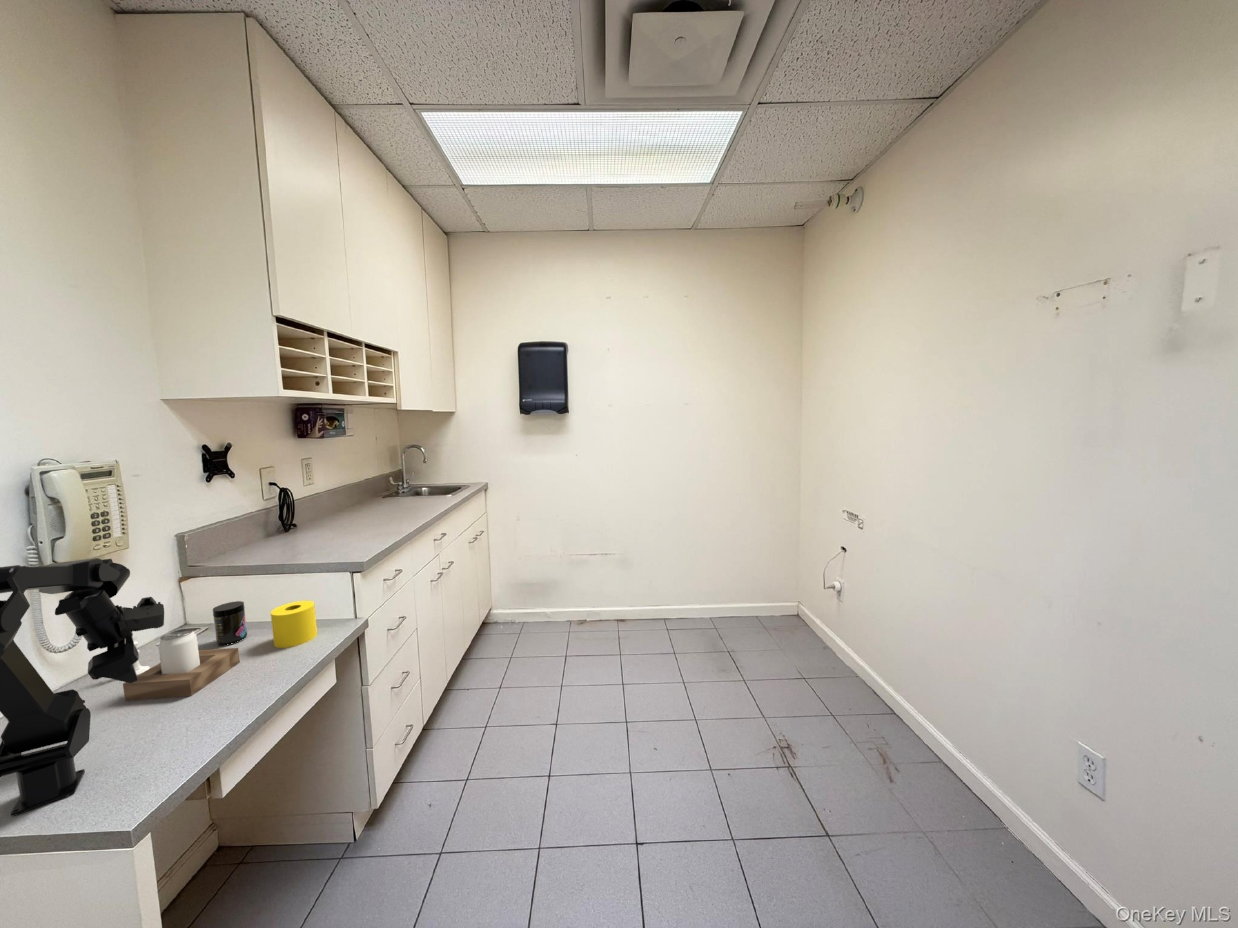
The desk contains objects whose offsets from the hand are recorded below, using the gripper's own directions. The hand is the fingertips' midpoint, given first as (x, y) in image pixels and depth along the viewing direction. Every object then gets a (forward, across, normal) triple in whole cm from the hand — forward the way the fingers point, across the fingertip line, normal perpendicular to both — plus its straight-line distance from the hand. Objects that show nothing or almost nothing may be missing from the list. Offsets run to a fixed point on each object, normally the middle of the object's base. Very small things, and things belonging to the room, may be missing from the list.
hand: (133, 668), depth 93 cm
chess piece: (+15, +19, +4) cm, 24 cm away
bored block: (+13, +5, -5) cm, 15 cm away
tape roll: (+20, +9, -26) cm, 34 cm away
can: (+13, +6, -4) cm, 15 cm away
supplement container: (+20, +22, -13) cm, 33 cm away
